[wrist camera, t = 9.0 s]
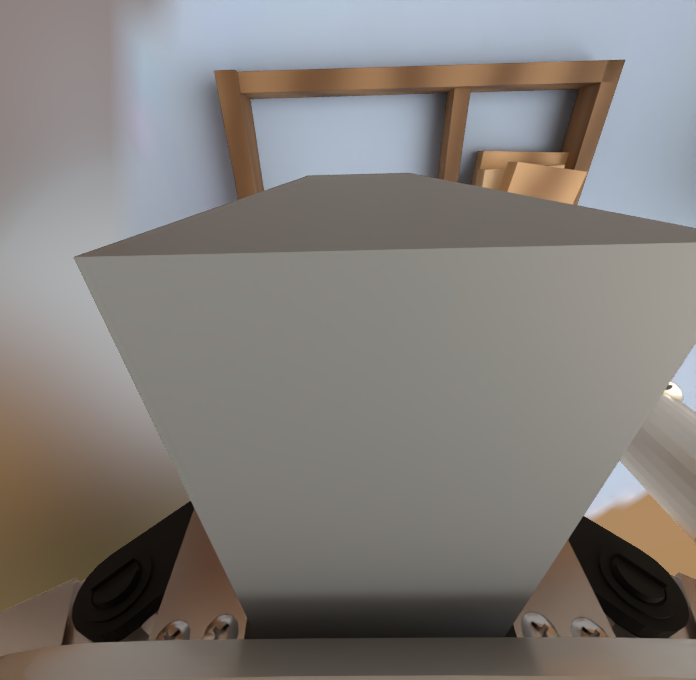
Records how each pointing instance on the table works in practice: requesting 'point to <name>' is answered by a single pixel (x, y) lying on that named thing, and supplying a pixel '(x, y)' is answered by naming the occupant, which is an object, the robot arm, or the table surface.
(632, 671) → the robot arm
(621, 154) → the table surface
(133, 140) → the table surface
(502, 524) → the grey rectangular block
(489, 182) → the offcut stack
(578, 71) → the rack
